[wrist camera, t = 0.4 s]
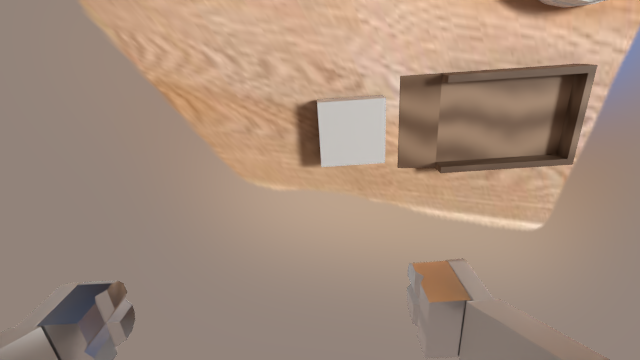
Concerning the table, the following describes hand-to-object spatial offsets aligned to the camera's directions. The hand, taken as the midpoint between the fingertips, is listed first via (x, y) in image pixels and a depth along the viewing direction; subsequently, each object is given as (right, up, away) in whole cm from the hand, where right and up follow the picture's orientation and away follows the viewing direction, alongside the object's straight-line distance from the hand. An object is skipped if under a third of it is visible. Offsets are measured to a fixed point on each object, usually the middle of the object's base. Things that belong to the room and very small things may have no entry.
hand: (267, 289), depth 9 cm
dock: (+28, +13, +43) cm, 53 cm away
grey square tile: (+6, +12, +43) cm, 45 cm away
